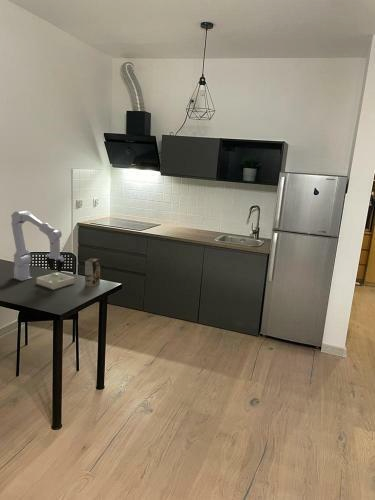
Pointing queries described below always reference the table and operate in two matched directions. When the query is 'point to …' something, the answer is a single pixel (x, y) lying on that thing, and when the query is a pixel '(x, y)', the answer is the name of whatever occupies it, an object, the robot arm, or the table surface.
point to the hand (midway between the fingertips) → (55, 270)
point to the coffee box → (92, 272)
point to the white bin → (47, 282)
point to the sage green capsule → (55, 277)
